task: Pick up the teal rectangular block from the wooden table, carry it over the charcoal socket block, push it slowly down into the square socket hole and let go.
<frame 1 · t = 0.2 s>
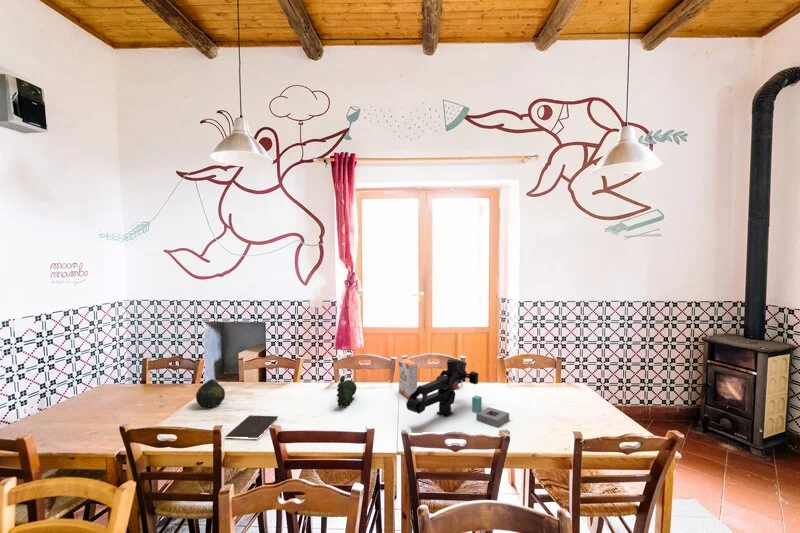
hand: (471, 372, 230), 17 cm above the table, tool horizontal, fingers open, 9 cm apart
pomegranate: (451, 387, 253), on the table
toy figurine: (346, 402, 229), on the table
squash: (210, 405, 226), on the table
hardcover book: (253, 430, 196), on the table
teal rectangular block: (476, 411, 215), on the table
socket block: (492, 420, 204), on the table
cracker box: (407, 395, 240), on the table
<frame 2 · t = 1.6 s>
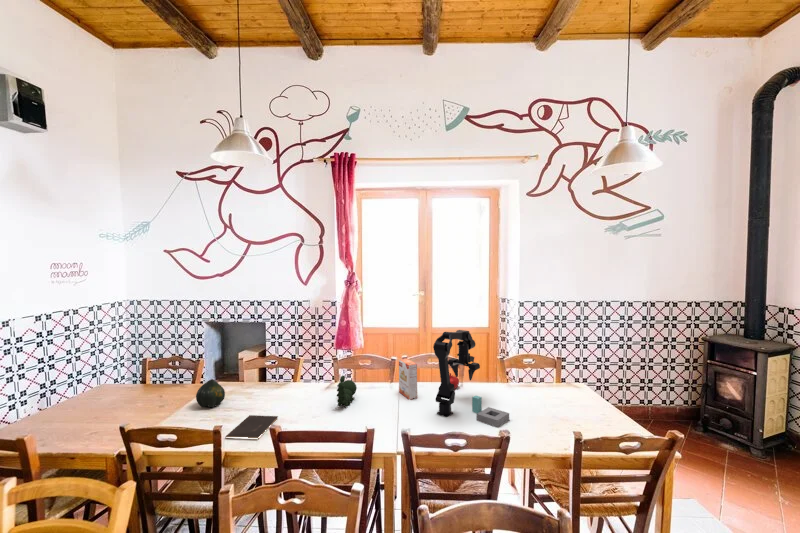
hand: (463, 378, 230), 13 cm above the table, tool pointing down, fingers open, 9 cm apart
nothing on the table moved.
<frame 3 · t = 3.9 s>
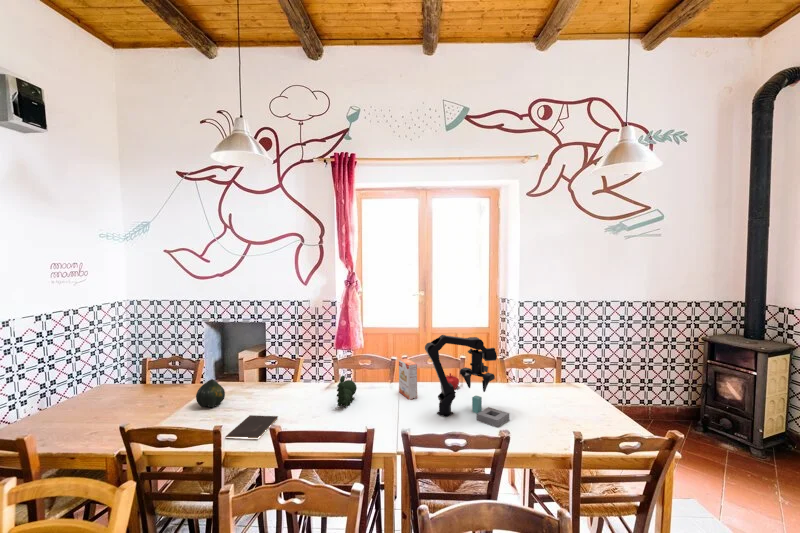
hand: (476, 389, 214), 12 cm above the table, tool pointing down, fingers open, 9 cm apart
nothing on the table moved.
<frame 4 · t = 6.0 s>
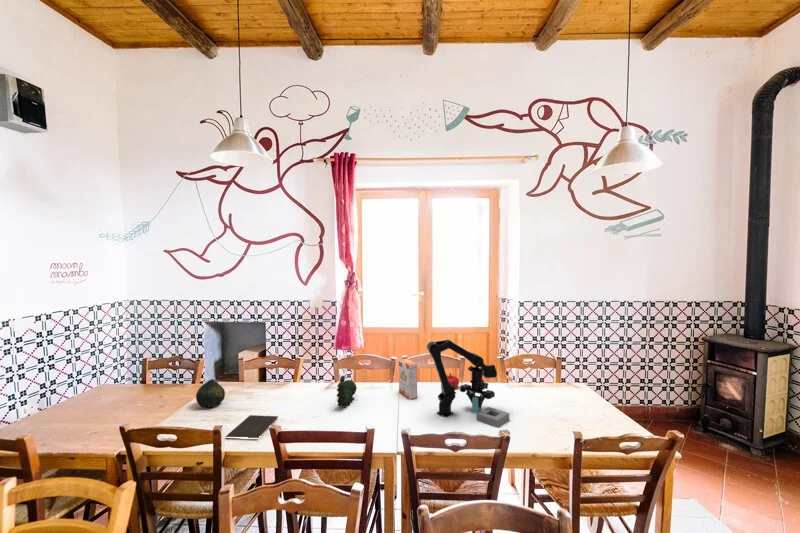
hand: (476, 406, 215), 3 cm above the table, tool pointing down, fingers closed on teal rectangular block, 4 cm apart
teal rectangular block: (476, 411, 215), on the table, touching gripper
everything else where it was.
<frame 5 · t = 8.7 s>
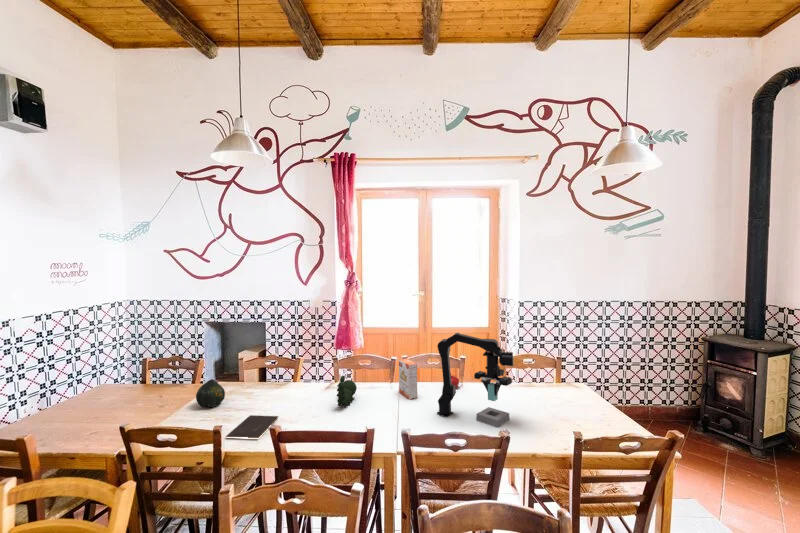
hand: (492, 394, 203), 13 cm above the table, tool pointing down, fingers closed on teal rectangular block, 4 cm apart
teal rectangular block: (492, 399, 204), point 11 cm above the table, touching gripper
everything else where it was.
when the fingers open (4 cm above the table, at t = 11.6 s): teal rectangular block stays where it is, resting on socket block.
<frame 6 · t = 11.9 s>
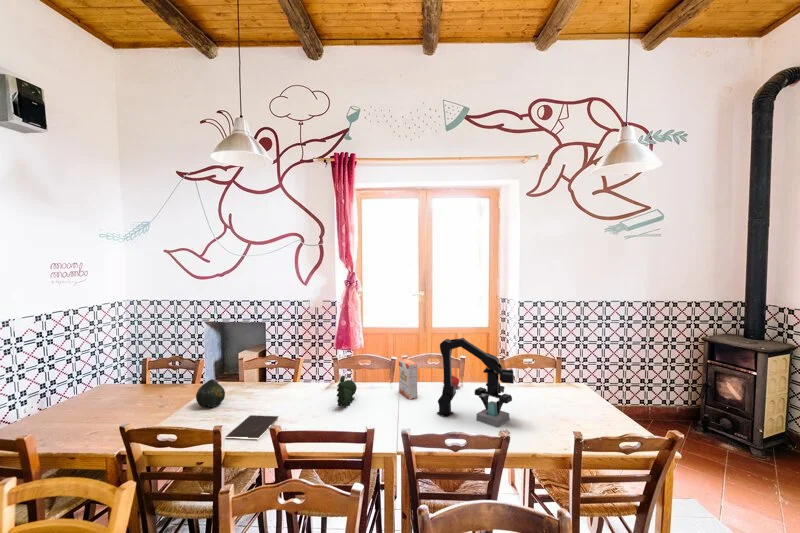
hand: (492, 411, 203), 4 cm above the table, tool pointing down, fingers open, 6 cm apart
teal rectangular block: (492, 418, 204), point 1 cm above the table, touching socket block
everything else where it was.
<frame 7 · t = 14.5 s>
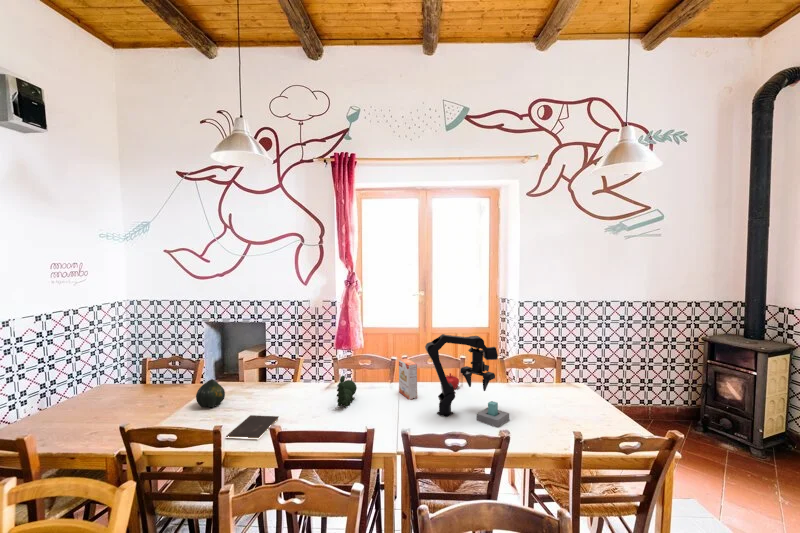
hand: (477, 388, 213), 13 cm above the table, tool pointing down, fingers open, 9 cm apart
nothing on the table moved.
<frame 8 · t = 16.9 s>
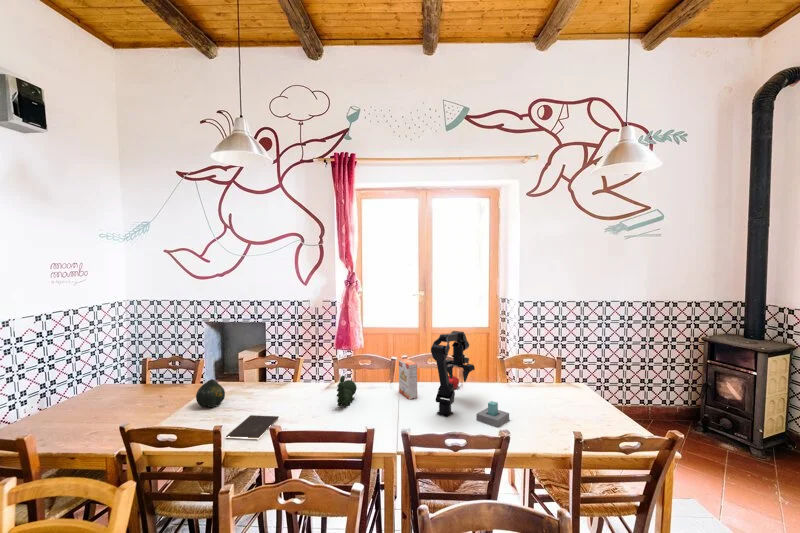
hand: (458, 380, 227), 13 cm above the table, tool pointing down, fingers open, 9 cm apart
nothing on the table moved.
at the end: teal rectangular block 0.1 cm off-centre on the socket block, point 1.0 cm above the socket block's base; teal rectangular block tilted 0°; the gripper is holding nothing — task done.
